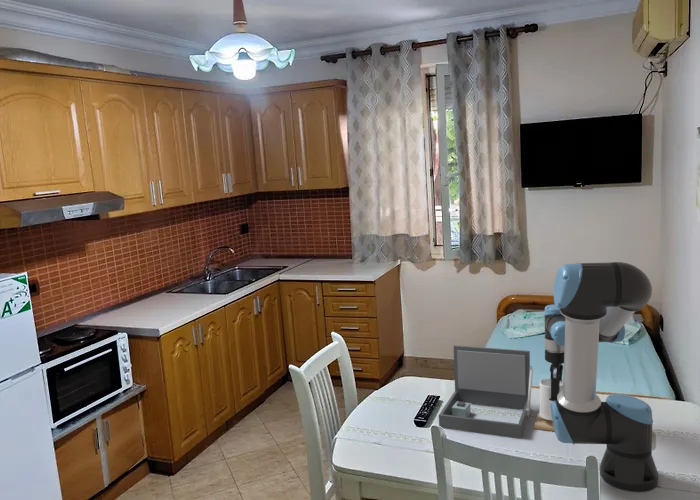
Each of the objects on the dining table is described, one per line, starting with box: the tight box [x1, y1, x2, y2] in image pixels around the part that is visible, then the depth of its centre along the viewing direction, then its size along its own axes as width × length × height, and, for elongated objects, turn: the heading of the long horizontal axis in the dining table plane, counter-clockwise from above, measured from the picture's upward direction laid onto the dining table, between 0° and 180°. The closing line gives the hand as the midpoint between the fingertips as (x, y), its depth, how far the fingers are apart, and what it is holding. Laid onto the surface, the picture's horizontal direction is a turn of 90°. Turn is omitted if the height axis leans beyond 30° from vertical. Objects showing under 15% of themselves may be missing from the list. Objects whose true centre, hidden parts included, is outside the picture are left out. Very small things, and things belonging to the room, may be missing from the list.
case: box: [438, 344, 534, 439], centre depth 208 cm, size 24×29×22 cm
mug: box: [538, 378, 563, 421], centre depth 202 cm, size 12×8×12 cm
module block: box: [451, 401, 471, 418], centre depth 213 cm, size 6×5×5 cm
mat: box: [533, 411, 555, 433], centre depth 203 cm, size 14×14×1 cm
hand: (556, 412), depth 202 cm, fingers closed on mug, 8 cm apart
